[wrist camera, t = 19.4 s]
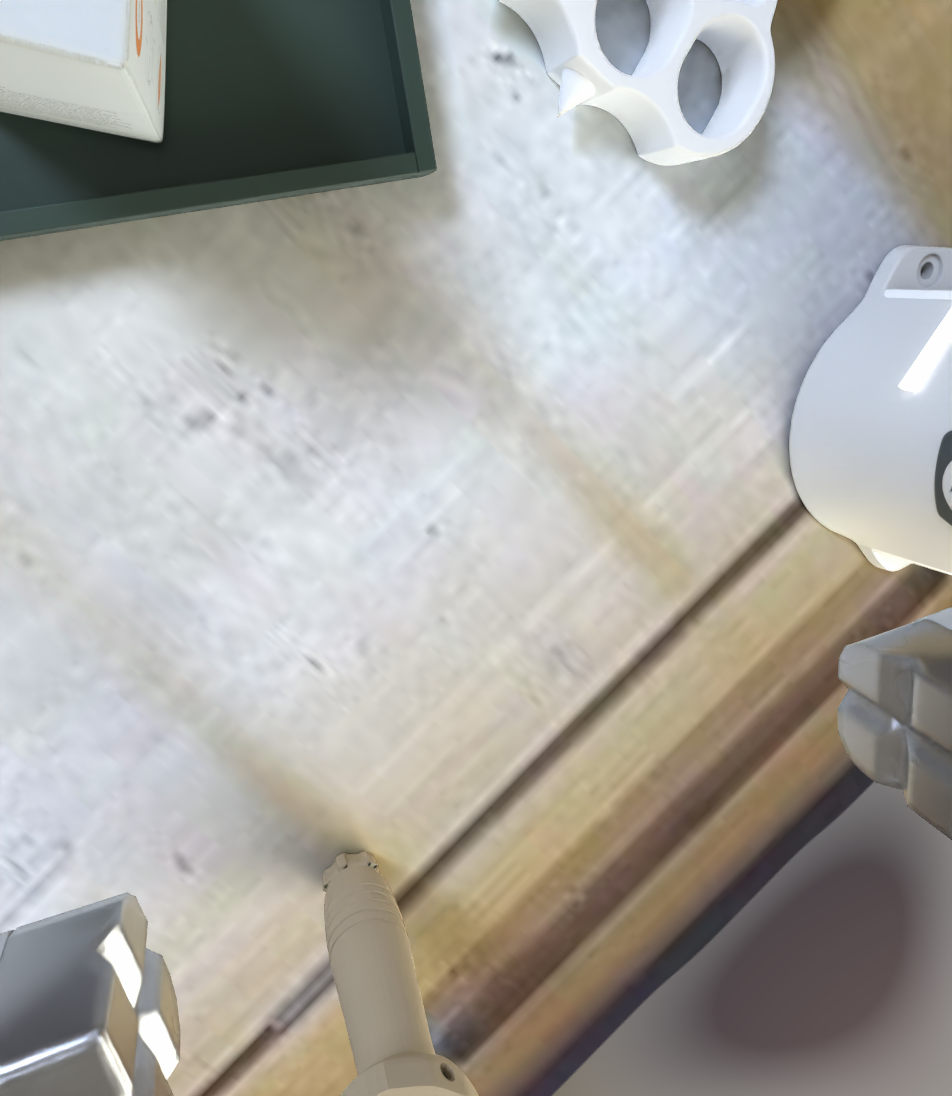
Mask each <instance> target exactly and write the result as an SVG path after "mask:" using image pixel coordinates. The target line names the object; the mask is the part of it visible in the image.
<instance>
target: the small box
mask: <svg viewBox="0 0 952 1096" xmlns="http://www.w3.org/2000/svg"><path fill="white" fill-rule="evenodd" d="M166 27H167V0H0V112H5V113H10V114H15V115H20V116H25V117H30V118H35V119H40V120H45V121H50V122H55V123H60V124H65V125H70V126H75V127H80V128H85V129H90V130H94V131H99V132H104V133H109V134H114V135H119V136H124V137H129V138H134V139H139V140H144V141H149V142H154V143H161V142H162V141H163V130H164V104H165V69H166Z"/></svg>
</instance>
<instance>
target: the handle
mask: <svg viewBox="0 0 952 1096" xmlns="http://www.w3.org/2000/svg"><path fill="white" fill-rule="evenodd" d="M378 868H379V866H378V864H377V862H376V860H375V858H374V856H373V855H372V854H371V853H369V852H364V851H363V852H361V853H357V854H347V853H342V854H340V855H338V856H337V857H336V861H335V862H334V863H333V865H332V866H330V867H329V868H327V869H326V870H325V871H324V874H323V891H325V892H326V894H325V904H324V917H325V931H326V941H327V948H328V952H329V959H330V964H331V969H332V973H333V977H334V981H335V985H336V988H337V992H338V996H339V1000H340V1004H341V1008H342V1012H343V1015H344V1019H345V1023H346V1027H347V1032H348V1036H349V1040H350V1044H351V1048H352V1052H353V1056H354V1061H355V1065H356V1069H357V1073H358V1076H357V1077H356V1078H355V1079H354V1080H353V1081H352V1082H351V1083H350V1084H349V1085H348V1086H347V1087H346V1089H345V1090H344V1091H343V1093H342V1094H341V1095H340V1096H479V1095H478V1093H477V1092H476V1090H475V1088H474V1087H473V1085H472V1084H471V1082H470V1081H469V1079H468V1078H467V1077H466V1076H465V1074H464V1073H463V1072H462V1071H461V1070H460V1069H459V1068H458V1067H457V1066H456V1065H455V1064H454V1063H452V1062H451V1061H450V1060H448V1059H447V1058H445V1057H443V1056H440V1055H435V1051H434V1048H433V1045H432V1041H431V1037H430V1033H429V1028H428V1024H427V1020H426V1015H425V1011H424V1007H423V1002H422V998H421V994H420V989H419V984H418V980H417V975H416V970H415V966H414V961H413V956H412V952H411V947H410V943H409V939H408V935H407V932H406V928H405V925H404V922H403V919H402V916H401V913H400V910H399V908H398V905H397V903H396V900H395V898H394V896H393V894H392V891H391V889H390V887H389V885H388V883H387V882H386V880H385V878H384V877H383V876H382V874H381V872H380V871H379V870H378Z"/></svg>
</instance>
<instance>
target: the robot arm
mask: <svg viewBox="0 0 952 1096" xmlns="http://www.w3.org/2000/svg"><path fill="white" fill-rule="evenodd" d="M921 268H922V273H921ZM789 457H790V466H791V472H792V476H793V480H794V483H795V486H796V489H797V492H798V494H799V496H800V498H801V500H802V502H803V504H804V505H805V507H806V508H807V510H808V511H809V512H810V514H811V515H812V516H813V517H814V518H815V519H816V520H817V521H818V522H820V523H821V524H822V525H823V526H825V527H826V528H828V529H830V530H831V531H833V532H836V533H838V534H840V535H843V536H845V537H847V538H849V539H851V540H853V541H854V542H855V543H857V545H858V546H859V548H860V549H861V551H862V552H863V554H864V555H865V557H866V558H867V559H868V561H869V562H870V563H871V564H872V565H874V566H875V567H878V568H881V569H884V570H888V571H897V570H899V569H902V568H904V567H905V566H907V565H909V564H911V563H914V564H917V565H921V566H924V567H927V568H930V569H933V570H936V571H940V572H943V573H946V574H949V575H952V248H951V247H932V246H913V245H901V246H898V247H895V248H894V249H892V250H891V251H890V252H889V253H888V254H887V255H886V257H885V258H884V260H883V261H882V263H881V264H880V266H879V268H878V270H877V272H876V274H875V276H874V278H873V280H872V282H871V284H870V286H869V288H868V290H867V292H866V294H865V296H864V298H863V299H862V301H861V302H860V303H859V305H858V306H857V307H856V308H855V309H854V311H853V312H852V313H851V314H850V315H849V316H848V317H847V318H846V319H845V320H844V321H843V322H842V323H841V324H840V325H839V326H838V327H837V328H836V329H835V330H834V332H833V333H832V334H831V335H830V336H829V338H828V339H827V340H826V341H825V343H824V344H823V346H822V347H821V349H820V350H819V352H818V353H817V355H816V356H815V358H814V360H813V361H812V363H811V365H810V367H809V369H808V371H807V373H806V375H805V377H804V380H803V382H802V385H801V387H800V390H799V393H798V396H797V399H796V402H795V406H794V410H793V415H792V420H791V426H790V436H789ZM838 678H839V679H840V680H841V681H842V682H843V683H844V685H845V686H846V687H847V688H848V691H847V693H846V695H845V697H844V699H843V700H842V702H841V704H840V706H839V708H838V733H839V736H840V738H841V740H842V743H843V745H844V747H845V750H846V752H847V754H848V756H849V757H850V758H851V759H852V761H853V762H854V763H855V764H856V766H857V767H858V768H859V769H860V770H861V771H862V772H863V773H865V774H866V775H867V776H869V777H870V778H871V779H872V780H874V781H875V782H876V783H879V784H883V785H886V786H890V787H893V788H897V789H901V790H903V793H904V796H905V800H906V803H907V806H908V807H909V808H910V809H911V810H913V811H914V812H915V813H917V814H918V815H919V816H921V817H922V818H923V819H925V820H926V821H927V822H929V823H930V824H931V825H932V826H934V827H935V828H936V829H938V830H939V831H941V832H942V833H943V834H944V835H946V836H947V837H948V838H950V839H951V840H952V608H947V609H944V610H942V611H939V612H936V613H934V614H931V615H928V616H926V617H923V618H920V619H918V620H915V621H914V622H913V623H911V624H907V625H905V626H902V627H899V628H896V629H893V630H890V631H887V632H885V633H882V634H879V635H876V636H873V637H870V638H867V639H865V640H862V641H859V642H856V643H853V644H850V645H847V646H845V648H844V650H843V652H842V654H841V656H840V658H839V673H838ZM147 925H148V921H147V919H146V917H145V915H144V913H143V911H142V909H141V907H140V905H139V903H138V900H137V898H136V897H135V896H133V895H131V894H129V893H128V892H127V893H124V894H121V895H118V896H114V897H111V898H108V899H105V900H102V901H99V902H96V903H93V904H89V905H86V906H83V907H80V908H77V909H74V910H71V911H68V912H65V913H61V914H58V915H55V916H52V917H49V918H46V919H43V920H40V921H36V922H33V923H30V924H27V925H24V926H21V927H18V928H17V929H16V930H12V931H7V932H4V933H1V934H0V1096H174V1095H173V1093H172V1091H171V1089H170V1086H169V1084H168V1082H167V1079H168V1077H169V1076H170V1074H171V1072H172V1071H173V1069H174V1068H175V1066H176V1064H177V1063H178V1061H179V1059H180V1024H179V1016H178V1007H177V999H176V995H175V991H174V987H173V984H172V980H171V976H170V973H169V971H168V968H167V966H166V964H165V961H164V959H163V956H162V955H160V954H157V953H155V952H153V951H151V950H149V949H147V948H146V937H147Z"/></svg>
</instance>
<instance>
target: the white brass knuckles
mask: <svg viewBox="0 0 952 1096" xmlns="http://www.w3.org/2000/svg"><path fill="white" fill-rule="evenodd" d="M597 1H598V0H499V2H501V3H503V4H505V5H506V6H508V7H510V8H511V9H512V10H514V11H515V12H516V13H517V14H518V15H519V16H520V17H521V18H522V19H523V20H524V21H525V22H526V23H527V25H528V26H529V27H530V29H531V30H532V32H533V34H534V35H535V37H536V39H537V41H538V43H539V46H540V48H541V51H542V54H543V58H544V62H545V67H546V73H547V74H548V75H549V76H550V77H551V78H552V79H553V80H554V81H555V82H556V83H557V84H559V85H560V86H561V87H560V97H559V106H558V116H557V117H559V116H561V115H562V114H564V113H565V112H567V111H569V110H570V109H572V108H573V107H575V106H577V105H578V104H582V105H592V106H596V107H599V108H601V109H603V110H605V111H607V112H609V113H610V114H612V115H613V116H614V117H616V118H617V119H618V120H619V121H620V122H621V123H622V124H623V126H624V127H625V128H626V130H627V131H628V133H629V134H630V136H631V138H632V140H633V142H634V145H635V147H636V150H637V154H638V156H639V157H641V158H642V159H644V160H646V161H648V162H651V163H654V164H658V165H665V166H672V165H679V164H684V163H688V162H693V161H697V160H701V159H706V158H710V157H714V156H718V155H721V154H724V153H726V152H728V151H730V150H732V149H733V148H735V147H736V146H738V145H739V144H740V143H742V142H743V141H744V140H745V139H746V138H747V137H748V136H749V135H750V134H751V132H752V131H753V130H754V129H755V127H756V126H757V124H758V123H759V121H760V120H761V118H762V116H763V114H764V112H765V110H766V108H767V105H768V102H769V99H770V96H771V92H772V88H773V83H774V75H775V54H774V46H773V41H772V37H771V31H770V29H771V23H772V20H773V16H774V12H775V9H776V5H777V1H778V0H646V2H647V5H648V8H649V12H650V19H651V32H650V38H649V42H648V46H647V48H646V51H645V53H644V55H643V56H642V58H641V60H640V62H639V64H638V66H637V67H636V69H635V71H634V73H633V74H632V75H628V74H625V73H623V72H621V71H619V70H618V69H616V68H615V67H614V66H613V65H612V64H611V63H610V62H609V61H608V59H607V58H606V57H605V55H604V53H603V52H602V50H601V47H600V45H599V42H598V39H597V35H596V29H595V11H596V5H597ZM695 39H697V40H700V41H701V42H703V43H705V44H706V45H707V46H708V47H709V48H710V49H711V50H712V52H713V53H714V55H715V57H716V59H717V61H718V63H719V66H720V70H721V76H722V91H721V97H720V100H719V104H718V106H717V109H716V111H715V112H714V114H713V116H712V118H711V119H710V121H709V123H708V125H707V126H706V128H705V130H704V131H703V133H702V134H700V133H698V132H696V131H695V130H694V129H693V128H692V127H691V126H690V125H689V124H688V123H687V121H686V119H685V118H684V116H683V114H682V111H681V108H680V105H679V100H678V77H679V73H680V69H681V66H682V63H683V61H684V59H685V57H686V55H687V54H688V52H689V50H690V48H691V46H692V45H693V43H694V41H695Z"/></svg>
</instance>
